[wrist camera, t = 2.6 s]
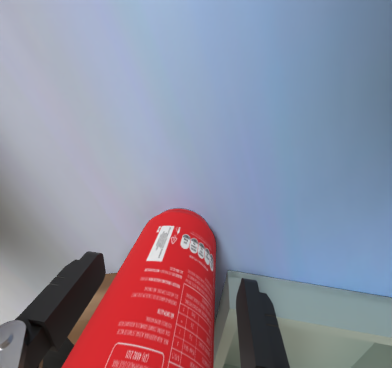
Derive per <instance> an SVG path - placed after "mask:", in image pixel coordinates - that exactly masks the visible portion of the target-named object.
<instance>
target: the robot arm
mask: <svg viewBox="0 0 392 368" xmlns="http://www.w3.org/2000/svg"><path fill="white" fill-rule="evenodd" d="M105 273H106V271H105V265H104V258H103V254H102V253H96V252H90V251H89V252H86V253H85V254H84V255H83V257H82V258H81V259H80V260H74V261H73V262H71V263H70V264H68V265H67V266H65V267H64V268H63V270H62V271H61V272H60V273H59V274H58V275H57V277H55V278H54V279H53V280H52V281H51V282H50V284H49V285H48V286H47V287H46V288H45V289H44V290H43V291H42V292H41V293H40V294H39V295H38V296H37V297H36V298H35V300H34V301H33V302H32V303H31V304H30V305H29V306H28V307H27V308H26V309H25V310H24V311H23V312H22V313H21V314H20V315H19V316H18V317H17V318H16V319H15V320H13V321H9V322H6V323H4V324H2V325H0V368H42V366H43V358H44V357H45V355H46V354H47V352H48V351H49V350H50V351H55V352H58V351H59V349H60V348H61V346H62V345H63V343H64V341H65V340H66V338H67V337H68V335H69V334H70V332H71V331H72V329H73V328H74V326H75V324H76V323H77V321H78V320H79V318H80V317H81V315H82V314H83V312H84V310H85V309H86V307H87V306H88V304H89V303H90V301H91V300H92V298H93V296H94V295H95V293H96V292H97V290H98V289H99V287H100V286H101V284H102V282H103V280H104V278H105ZM236 315H237V327H238V339H239V351H240V363H241V368H290V365H289V362H288V358H287V354H286V350H285V347H284V343H283V339H282V335H281V332H280V328H279V324H278V321H277V318H276V313H275V309H274V306H273V303H272V301H271V300H270V298H269V297H268V295H267V293H262V292H259V287H258V283H257V281H256V280H252V279H246V278H242V279H241V283H240V286H239V289H238V293H237V296H236Z"/></svg>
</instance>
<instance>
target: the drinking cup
mask: <svg viewBox="0 0 392 368" xmlns="http://www.w3.org/2000/svg"><path fill="white" fill-rule="evenodd" d="M74 346H75V345H74V344H73V343H72V342H71V341H70V340H69V339H68V338H66V340H65V341H64V343H63V345H62V346H61V348H60V349H59V351H58V352H55V351H50V350H49V351H48V352H47V354H46V355H45V357H44V358H43V366H42V368H61V367H62V366H63V364H64V362H65V361H66V359H67V357H68V356H69V354H70V352H71V351H72V349H73V347H74Z"/></svg>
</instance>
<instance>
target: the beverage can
mask: <svg viewBox="0 0 392 368" xmlns="http://www.w3.org/2000/svg"><path fill="white" fill-rule="evenodd" d="M215 270H216V241H215V237H214V235H213V233H212V231H211V230H210V228H209V225H208V223H207V222H206V221H205V219H204V218H203V217H202V216H200V215H199V214H197V213H196V212H194V211H191V210H188V209H184V208H173V209H169V210H166V211H164V212H162V213H161V214H160V215H157V216H155V217H154V218H152V219H151V220H150V221H149V222H148V223H147V224H146V226H145V227H144V229H143V231H142V232H141V234H140V236H139V238H138V239H137V241H136V243H135V244H134V246H133V248H132V249H131V251H130V253H129V254H128V256H127V258H126V259H125V261H124V263H123V265H122V266H121V268H120V270H119V271H118V273H117V275H116V276H115V278H114V280H113V281H112V283H111V285H110V286H109V288H108V290H107V292H106V293H105V295H104V297H103V298H102V300H101V302H100V303H99V305H98V307H97V308H96V310H95V312H94V313H93V315H92V317H91V319H90V320H89V322H88V324H87V325H86V327H85V329H84V330H83V332H82V334H81V335H80V337H79V339H78V340H77V342H76V344H75V346H74V347H73V349H72V351H71V352H70V354H69V356H68V357H67V359H66V361H65V362H64V364H63V366H62V367H61V368H213V363H214V317H215Z"/></svg>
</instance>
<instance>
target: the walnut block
mask: <svg viewBox="0 0 392 368" xmlns="http://www.w3.org/2000/svg"><path fill="white" fill-rule="evenodd" d="M116 275H117V273H111V274H105V278H104V280H103V282H102V284H101V286H100V287H99V289H98V290H97V292H96V293H95V295H94V296H93V298H92V300H91V301H90V303H89V304H88V306H87V307H86V309H85V310H84V312H83V314H82V315H81V317H80V318H79V320H78V321H77V323H76V324H75V326H74V328H73V329H72V331H71V332H70V334H69V335H68V337H67V338H68V339H69V340H70V341H71V342H72V343H73V344H74V345H75V344H76V342H77V340H78V339H79V337H80V335H81V334H82V332H83V330H84V329H85V327H86V325H87V324H88V322H89V320H90V319H91V317H92V315H93V313H94V312H95V310H96V308H97V307H98V305H99V303H100V302H101V300H102V298H103V297H104V295H105V293H106V292H107V290H108V288H109V286H110V285H111V283H112V281H113V280H114V278H115V276H116Z"/></svg>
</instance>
